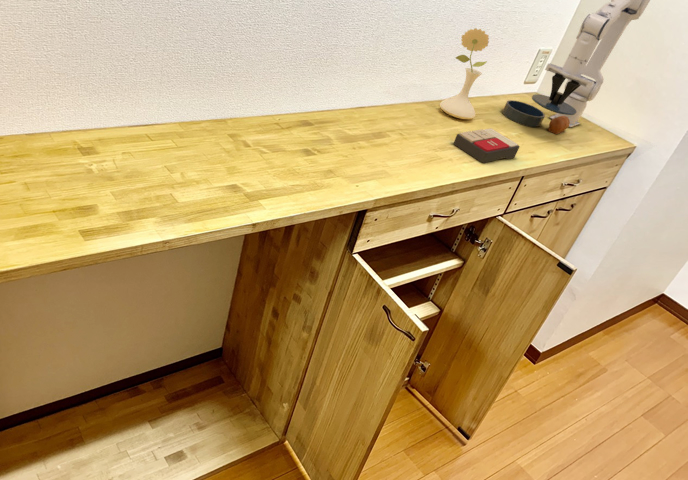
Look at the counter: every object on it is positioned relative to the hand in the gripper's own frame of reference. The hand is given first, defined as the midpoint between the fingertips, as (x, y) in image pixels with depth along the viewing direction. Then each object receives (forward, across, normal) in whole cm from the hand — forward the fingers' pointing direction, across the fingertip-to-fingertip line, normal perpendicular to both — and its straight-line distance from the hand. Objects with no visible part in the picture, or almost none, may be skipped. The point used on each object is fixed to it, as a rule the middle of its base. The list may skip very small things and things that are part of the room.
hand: (555, 101), depth 177 cm
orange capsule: (+10, +2, +10) cm, 15 cm away
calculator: (+11, 0, -38) cm, 39 cm away
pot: (+10, -10, +6) cm, 15 cm away
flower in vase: (+11, -20, -22) cm, 32 cm away
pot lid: (+1, 0, 0) cm, 1 cm away
